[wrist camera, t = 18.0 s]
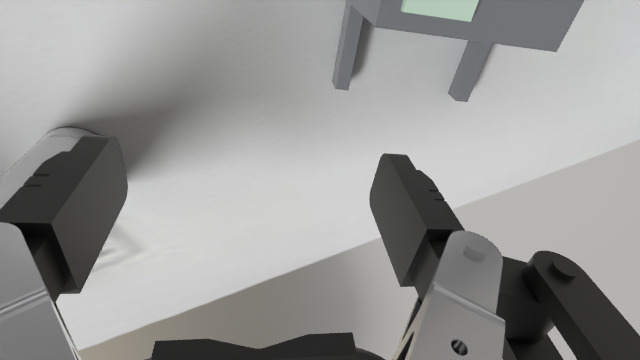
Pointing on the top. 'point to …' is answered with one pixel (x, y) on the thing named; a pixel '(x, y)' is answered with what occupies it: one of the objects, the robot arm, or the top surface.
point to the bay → (459, 29)
